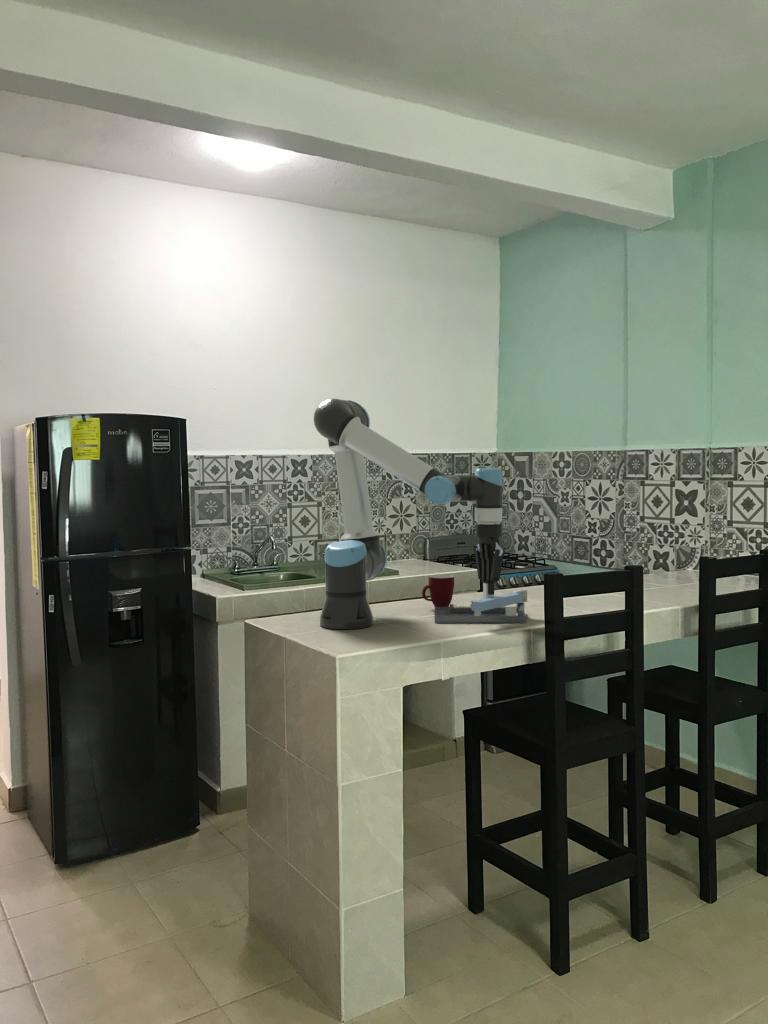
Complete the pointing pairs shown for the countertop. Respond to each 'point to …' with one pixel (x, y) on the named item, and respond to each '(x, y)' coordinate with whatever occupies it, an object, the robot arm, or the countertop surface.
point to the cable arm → (500, 600)
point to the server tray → (480, 614)
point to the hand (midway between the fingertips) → (488, 605)
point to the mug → (440, 590)
